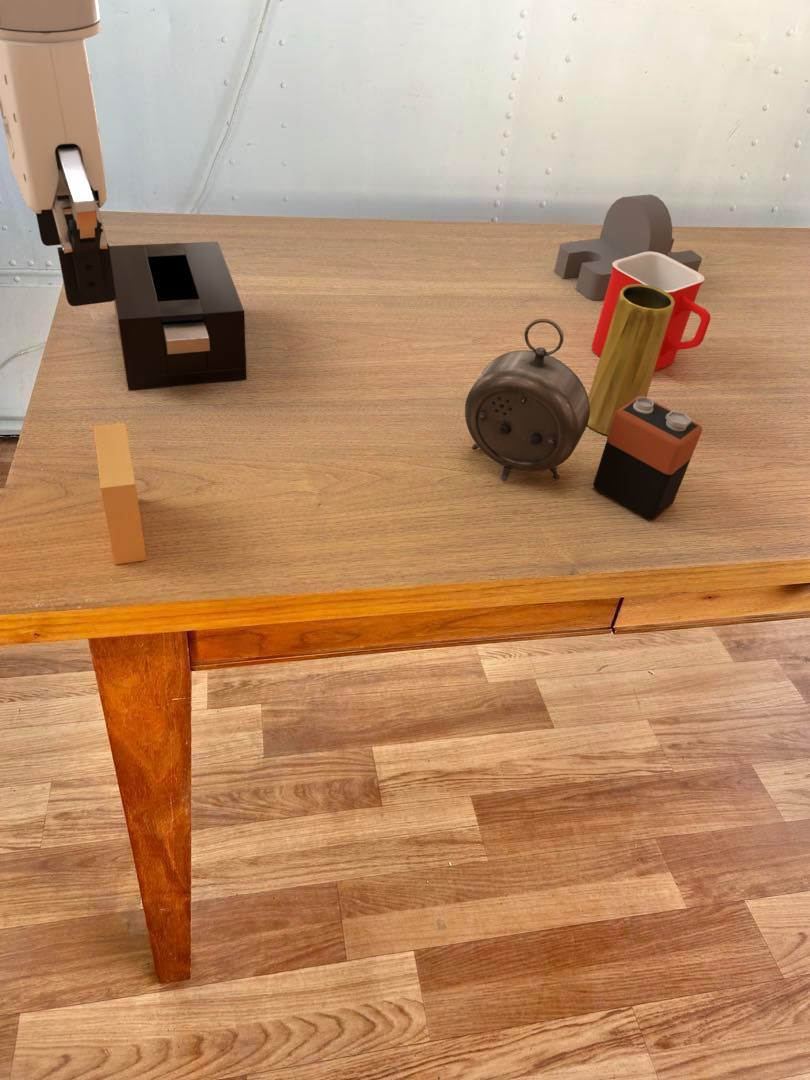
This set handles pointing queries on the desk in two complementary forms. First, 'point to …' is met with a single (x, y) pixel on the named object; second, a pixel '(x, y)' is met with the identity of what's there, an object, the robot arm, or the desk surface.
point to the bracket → (620, 244)
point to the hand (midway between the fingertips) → (77, 270)
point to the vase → (629, 352)
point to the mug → (669, 279)
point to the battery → (646, 456)
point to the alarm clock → (527, 410)
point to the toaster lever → (186, 338)
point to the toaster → (177, 313)
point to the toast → (119, 493)
